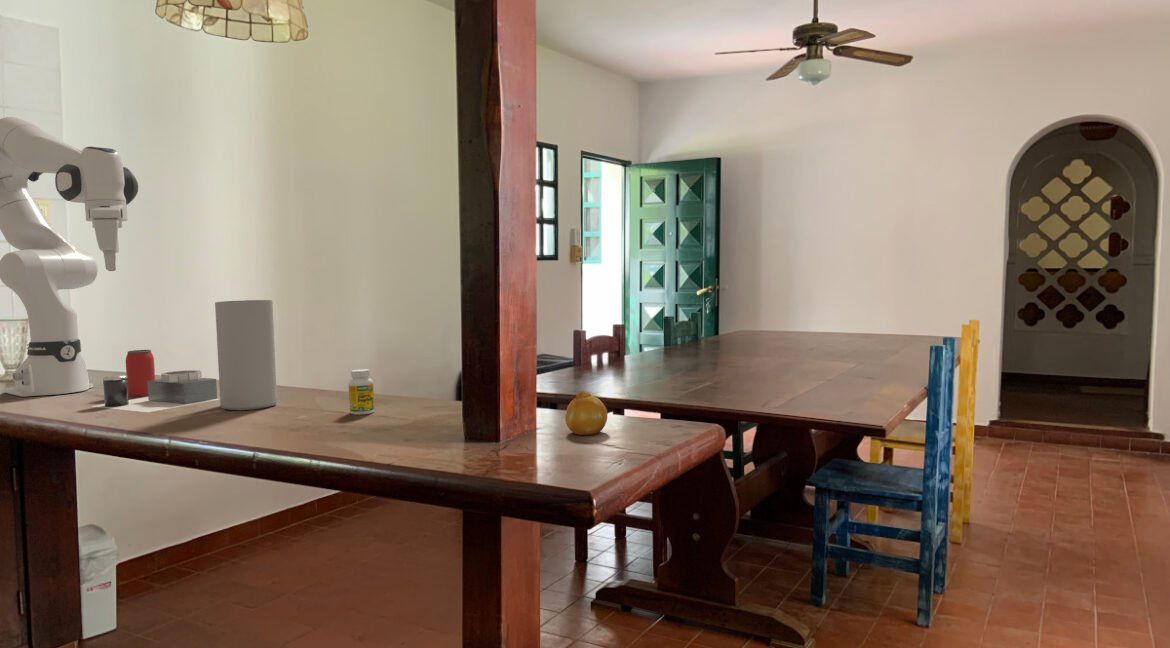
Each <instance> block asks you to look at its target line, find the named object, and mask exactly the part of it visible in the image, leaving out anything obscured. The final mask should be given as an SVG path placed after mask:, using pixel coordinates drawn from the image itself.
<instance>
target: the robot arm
mask: <svg viewBox="0 0 1170 648" xmlns="http://www.w3.org/2000/svg"><path fill="white" fill-rule="evenodd" d="M43 174H55V178H54V179H55V180H54V182H55V188H56V191H57V194H59V195H60V196H61V197H62V199H64V200H65V201H67V202H71V203H78V204H84V211H85V214H84V215H85V221H87V222H91V223H92V228H93V229H94V232H95V237H96V242H97V246H98V249H99V250H100V251H101V252H102V253H103V258H104V264H105V265H104V266H105V269H106V270H107V271H109V272H115V271H116V270H117V269H116V267H117V265H116V259H117V258H116V257H117V256H116V254H118V253H119V251H120V248H119V247H120V246H119V245H120V244H119V233H118V232H119V229H122V228H123V222H126V221H128V210H127V207H128V205H129V204H130V203H131V202H132V201H133V200H134V199H135V198H136V196H137V195H138V192H139V182H138V181H137V178H136V176H135V175H134V173H133V172H132V171H131V170H130V169H128V167H126V166H123V162H122V158H121V155H120V153H119V152H118V151H117V150H116V149H113V148H106V147H100V146H99V147H98V146H86V147H84V148H82V150H81V149H78V148H76V147H74V146H72V145H70V144H68V143H66V142H64V141H62V140H60V139H58V138H56V137H55V136H53V135H52V134H50V133H48V132H46V131H44V129H42V128H40V127H38V126H36V125H35V124H33V123H31V122H29V121H26V120H24V119H22V118H18V117H13V116H6V117H5V116H4V117H2V118H1V117H0V232H1V234H2V235H3V237H4V239H5V240H6V242H7V243H8V244H9V245H10V246H12V247H13V248H15V249H18V250H16V251H15V250H14V251H11V252H7V253H5V254H4V255H2V257H1V259H0V281H1V282H2V283H3V284H4V286H6V287H7V288H9V289H10V290H11V291H13V293H15V294H16V295H17V297H18V298H19V300H20V301H21V302H22V304H23V307H24V308H25V312H26V315H27V318H28V319H27V320H28V326H29V335H30V342H28V344H26V346H27V347H26V349H27V353H26V355H27V357H26V358H25V360H23V361H22V362H21V364H20V365H19V366H18V367H17V368H16V369H15V370H14V372H13V373H12V379H13V381H14V386H12V387H9V388H5V389H4V393H6V394H10V395H14V396H17V397H35V396H49V395H50V396H52V395H63V394H70V393H78V392H84V391H87V390H89V389H91V388H94V383H92V382H91V383H90V380H89V374H88V368H87V367H88V366H87V362H86V358H84V357H83V356H82V355H81V354H80V353H81V352H82V344H81V339H79V331H78V329H79V327H78V317H77V316H78V315H77V312H76V310H75V309H74V308H73V307H71V306H70V305H68V304H66V303H65V302H64V301H63V300H62V298H61V297H60V294H59V290H75V289H76V290H77V289H79V288H84V287H86V286H90V285H92V284H93V283H94V282H95V280H96V279H97V276H98V264H97V261H96V260H95V258H94V256H92V255H91V254H89V253H88V252H85V251H83V250H81V249H79V248H77V246H74V245H73V244H71V243H70V242H69V241H68V240H67V239H66V238H65V237H63V236H62V235H61V234H60V233H59V232H58V231H57V230H56V229H55V228H54V227H53V226H52V224H51V223H50V222H49V219H47V216H45V213H44V212H43V211H42V208H41V206H40V205H39V204H38V202H37V201H36V199H35V197H34V196H33V194H32V193H31V191H30V189H29V187H28V180H29V181H30V182H32V183H34V182H37V181H39V178H40V176H41V175H43Z"/></svg>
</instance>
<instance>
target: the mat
mask: <svg viewBox="0 0 1170 648" xmlns="http://www.w3.org/2000/svg"><path fill="white" fill-rule="evenodd" d="M214 401H220V398H217V399H212V400H206V401H201V402H195V403H189V404H177V403H167V402H156V401H149V400H148V396H144V397H138V398H134V399H133V398H132V399H128V402H129V404H128V405H125V406H119V407H105V403H102V404H96V405H91V406H90V407H91V408H92V407H93V408H102V409H109V410H110V409H111V410H121V411H127V412H129V411H130V412H138V413H146V414H147V413H153V412H158V411H164V410H169V409H177V408H181V407H186V406H191V405H197V404H204V403H208V402H209V403H210V402H214Z"/></svg>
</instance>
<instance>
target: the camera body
mask: <svg viewBox="0 0 1170 648" xmlns="http://www.w3.org/2000/svg"><path fill="white" fill-rule="evenodd" d="M160 376H161V378H157V379H155V380H150V381H147V383H148V396H147V397H148V400H149V401H156V402H167V403H177V404H189V403H195V402H201V401H206V400H212V399H218V385H217V378H211V377H203V376H202V370H195V369H192V370H191V369H189V370H174V371H166V372H163V373H161V375H160Z"/></svg>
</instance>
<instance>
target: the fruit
mask: <svg viewBox="0 0 1170 648" xmlns="http://www.w3.org/2000/svg"><path fill="white" fill-rule="evenodd" d="M564 417H565V418H564V419H565V423H566V426H567V427H568V430H570V432H572V433H573V434H575V435H578V436H591V435H595V434H598V433H600V432H601V431H603V429H604V428H605V426H606V424H607V421H608V410H607V406H606V405H605V404H604V403H603V402H602V401H601V400H600V399H599V398H598V397H597V396H595V395H592V394H591V393H590V392H589V391H580V392H577V394H576V396H575V398H573V399H572V400H570V402H569V404H568V405H567V408H566V412H565V416H564Z"/></svg>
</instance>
